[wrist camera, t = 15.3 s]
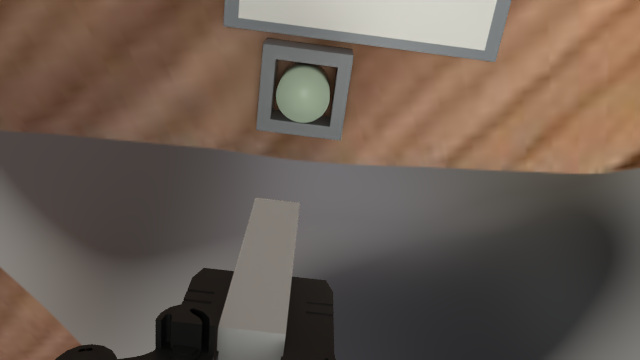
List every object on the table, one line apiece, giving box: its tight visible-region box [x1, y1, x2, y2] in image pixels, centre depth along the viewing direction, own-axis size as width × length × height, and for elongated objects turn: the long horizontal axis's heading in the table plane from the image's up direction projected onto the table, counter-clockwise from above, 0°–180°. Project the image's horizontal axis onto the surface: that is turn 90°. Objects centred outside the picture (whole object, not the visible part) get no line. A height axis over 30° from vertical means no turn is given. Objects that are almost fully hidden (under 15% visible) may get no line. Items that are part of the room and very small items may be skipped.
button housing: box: [256, 38, 354, 141], centre depth 37 cm, size 6×6×2 cm
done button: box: [276, 62, 330, 123], centre depth 36 cm, size 4×4×3 cm
